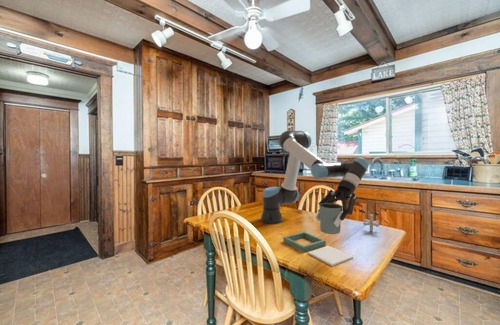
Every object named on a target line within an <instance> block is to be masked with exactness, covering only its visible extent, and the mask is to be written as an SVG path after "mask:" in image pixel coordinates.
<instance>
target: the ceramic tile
mask: <svg viewBox="0 0 500 325" xmlns="http://www.w3.org/2000/svg"><path fill="white" fill-rule="evenodd" d="M307 254H308V255H309V256H312V257H314V258H315V259H317V260H319V261H321V262H323V263H324V264H326V265H329V266H330V267H334V266H337V265H340V264H342V263H345V262H347V261H349V260H352V259H354V256H353V255H351V254H348V253H346V252H344V251H342V250H339V249H337V248H334V247H332V246H331V245H325V246H322V247H319V248H315V249H312V250H309V251H307Z"/></svg>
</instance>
